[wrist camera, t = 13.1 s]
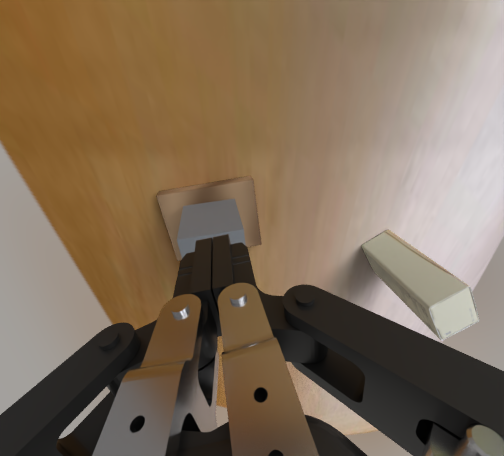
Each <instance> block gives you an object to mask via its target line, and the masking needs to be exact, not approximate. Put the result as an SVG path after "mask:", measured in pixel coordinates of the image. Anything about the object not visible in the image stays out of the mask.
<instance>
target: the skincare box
mask: <svg viewBox="0 0 504 456" xmlns="http://www.w3.org/2000/svg"><path fill="white" fill-rule="evenodd" d="M362 248H363V250H364V253H365V255H366V257H367V259H368V261H369V263H370V265H371V267H372V269H373V270H374V272H375V274H376V275H377V276H378V277H379V278H380V279H381V280H382V281H383V282H384V283H385V284H386V285H387V286H388V287H389V288H390V289H391V290H392V291H393V292H394V293H395V294H396V295H397V296H398V297H399V298H400V299H401V300H402V301H403V302H404V303H405V304H406V305H407V306H408V307H409V308H410V309H411V310H412V311H413V312H414V313H415V314H416V315H417V316H418V317H419V318H420V319H421V320H422V321H423V322H424V323H425V324H426V325H427V326H428V327H429V329H430V330H431V331H432V332H433V333H434V334H435V335H436V336H437V337H438V338H439V339H440V340H442V341H443V340H444V339H446V338H448V337H450V336H452V335H454V334H456V333H457V332H460V331H461V330H463V329H466V328H467V327H469V326H471V325H473V324H475V323H477V322H478V321H479V318H478V313H477V309H476V305H475V302H474V297H473V294H472V290H471V287H470V286H469V285H467V284H466V283H464V282H463V281H461V280H460V279H459V278H457V277H456V276H454V275H453V274H451V273H450V272H448V271H447V270H446V269H444V268H443V267H441V266H440V265H438V264H437V263H436V262H434V261H433V260H431V259H430V258H428V257H427V256H426V255H424V254H423V253H421V252H420V251H419V250H417V249H416V248H414V247H413V246H411V245H410V244H408V243H407V242H406V241H404V240H403V239H401V238H400V237H398V236H397V235H395V234H394V233H393V232H391V231H390V230H386V231H385V232H383V233H381V234H380V235H378V236H376V237H375V238H373V239H371V240H370V241H368V242H366V243H365V244H363V245H362Z"/></svg>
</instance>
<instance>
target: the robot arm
mask: <svg viewBox="0 0 504 456" xmlns="http://www.w3.org/2000/svg"><path fill="white" fill-rule="evenodd" d="M218 336H222V341H223V349H224V352H222V366H223V375H224V384H225V393H226V402H227V411H228V419H229V422H227V423H225V424H224V425H222V426H220V427H218V428H217V422H216V398H217V381H218V364H219V353H218V350H217V337H218ZM285 361H288V362H292V364H293V365H294V367H295V368H296V369H298V370H299V371H300V372H302V373H303V374H304V375H306V376H307V377H308V378H310V379H311V380H312V381H314V382H315V383H316V384H318V385H319V386H320V387H322V388H323V389H324V390H326V391H327V392H328V393H330V394H331V395H332V396H334V397H335V398H336V399H338V400H339V401H340V402H342V403H343V404H344V405H346V406H347V407H348V408H350V409H351V410H353V411H354V412H355V413H357V414H358V415H359V416H361V417H362V418H363V419H365V420H366V421H367V422H369V423H370V424H371V425H373V426H374V427H375V428H377V429H378V430H379V431H381V432H382V433H383V434H385V435H386V436H387V437H389V438H390V439H392V440H393V441H394V442H395V443H397V444H398V445H400V446H401V447H402V448H403V449H405V450H407V452H409V453H410V454H412V455H413V456H504V371H502V370H499V369H497V368H495V367H493V366H491V365H488V364H486V363H484V362H482V361H479V360H477V359H475V358H473V357H471V356H468V355H466V354H464V353H462V352H459V351H457V350H455V349H453V348H451V347H448V346H446V345H444V344H442V343H440V342H437V341H435V340H433V339H431V338H428V337H426V336H424V335H422V334H420V333H417V332H415V331H413V330H411V329H409V328H406V327H404V326H402V325H400V324H397V323H395V322H393V321H391V320H389V319H386V318H384V317H382V316H380V315H377V314H375V313H373V312H371V311H369V310H366V309H364V308H362V307H360V306H357V305H355V304H353V303H351V302H349V301H346V300H344V299H342V298H340V297H338V296H335V295H333V294H331V293H329V292H326V291H324V290H322V289H320V288H318V287H315V286H312V285H298V286H294V287H292V288H290V289H289V290H288V291H287V292H286V293H285V294H284V296H272V295H268V294H265V293H263V292H262V291H260V290H259V289H258V288H257V286H256V283H255V279H254V274H253V270H252V265H251V261H250V257H249V252H248V248H247V247H246V246H245V245H244V244H243V243H242V242H240V243H235V244H231V242H230V238H229V234H226V235H221V236H216V237H213V238H212V237H211V238H206V239H201V240H196V244H195V252H191V253H186V255H185V256H184V257H183V258H182V260H181V261H180V266H179V271H178V277H177V280H176V285H175V290H174V295H173V299H171V300H170V301H168V302H167V303H166V304H165V305H164V306H163V308H162V309H161V311H160V314H159V317H158V319H157V320H156V321H154V322H152V323H150V324H148V325H146V326H143V327H141V328H139V329H137V330H134V328H133V326H132V325H130V324H128V323H117V324H114V325H111V326H109V327H107V328H105V329H104V330H102V331H101V332H99V333H98V334H97V335H96V336H94V337H93V338H92V339H91V340H90V341H89V342H87V343H86V344H85V345H84V346H82V347H81V348H80V349H79V350H78V351H76V352H75V353H74V354H73V355H72V356H71V357H69V358H68V359H67V360H66V361H64V362H63V363H62V364H61V365H60V366H58V367H57V368H56V369H55V370H54V371H53V372H51V373H50V374H49V375H48V376H46V377H45V378H44V379H43V380H42V381H41V382H39V383H38V384H37V385H36V386H35V387H33V388H32V389H31V390H30V391H29V392H27V393H26V394H25V395H24V396H23V397H21V398H20V399H19V400H18V401H17V402H15V403H14V404H13V405H12V406H11V407H9V408H8V409H7V410H6V411H5V412H3V413H2V414H1V415H0V456H367V455H366V454H365V453H364V452H363V451H362V450H360V449H359V448H358V447H357V446H356V445H355V444H354V443H352V442H351V441H350V440H349V439H348V438H347V437H346V436H344V435H343V434H342V433H341V432H339V431H338V430H337V429H335V428H334V427H332V426H331V425H329V424H327V423H325V422H323V421H322V420H320V419H317V418H314V417H312V416H308V415H304V412H303V410H302V407H301V404H300V401H299V398H298V396H297V393H296V390H295V387H294V384H293V382H292V379H291V376H290V373H289V370H288V368H287V365H286V362H285ZM106 386H107V387H108V389H109V390H110V393H109V394H108V395H107V396H106V397H105V398H104V399H103V400H102V401H101V402H100V403H99V404H98V405H97V406H96V407H95V408H94V409H93V410H92V412H91V413H90V414H89V415H88V416H87V417H86V418H85V419H84V420H83V421H82V422H81V423H80V424H79V425H78V426H77V427H76V428H75V429H74V431H73V432H72V433H70V434H69V435H67V436H66V437H64V438H61V439H58V438H59V436H60V435H61V433H62V432H63V431H64V429H65V428H66V427H67V426H68V425H69V424H70V423H71V422H72V421H73V420H74V419H75V418H76V417H77V416H78V415H79V414H80V413H81V412H82V411H83V410H84V408H86V407H87V406H88V405H89V404H90V403H91V402H92V401H93V400H94V399H95V398H96V397H97V395H98V394H99V393H100V392H101V391H102V390H103V389H104V388H105V387H106Z"/></svg>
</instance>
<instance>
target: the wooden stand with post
mask: <svg viewBox="0 0 504 456" xmlns="http://www.w3.org/2000/svg"><path fill="white" fill-rule="evenodd" d="M156 197H157V200H158V203H159V206H160V209H161V212H162V215H163V218H164V221H165V224H166V227H167V230H168V233H169V236H170V239H171V243H172V246H173V249H174V252H175V255H176V258H177V261H180V260H182V257H181V253H180V250H179V246H178V243H177V236H178V231H179V225H180V220H181V215H182V210H183V206H187V205H194V204H200V203H207V202H214V201H221V200H228V199H235V201H236V205H237V208H238V211H239V215H240V218H241V222H242V225H243V228H244V235H245V244H246V247H251V246H256V245H261V236H260V229H259V221H258V213H257V205H256V197H255V189H254V182H253V178H252V177H251V176H246V177H241V178H235V179H229V180H223V181H217V182H211V183H205V184H200V185H194V186H188V187H182V188H176V189H170V190H164V191H159V193H158V194H157V196H156Z"/></svg>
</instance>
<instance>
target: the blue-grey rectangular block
mask: <svg viewBox="0 0 504 456" xmlns="http://www.w3.org/2000/svg"><path fill="white" fill-rule="evenodd" d="M226 234H229V238H230V242H231V244H235V243H240V242H242V243H243V244H244V245H245V246H246V244H245V235H244V228H243V225H242V222H241V218H240V215H239V211H238V208H237V205H236V201H235V199H228V200H221V201H214V202H207V203H200V204H194V205H187V206H183V210H182V215H181V220H180V225H179V231H178V236H177V243H178V246H179V250H180V253H181V257H182V258H183V257H184V256H185V255H186V253H191V252H195V244H196V240H201V239H206V238H211V237H212V238H213V237H216V236H221V235H226Z"/></svg>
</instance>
